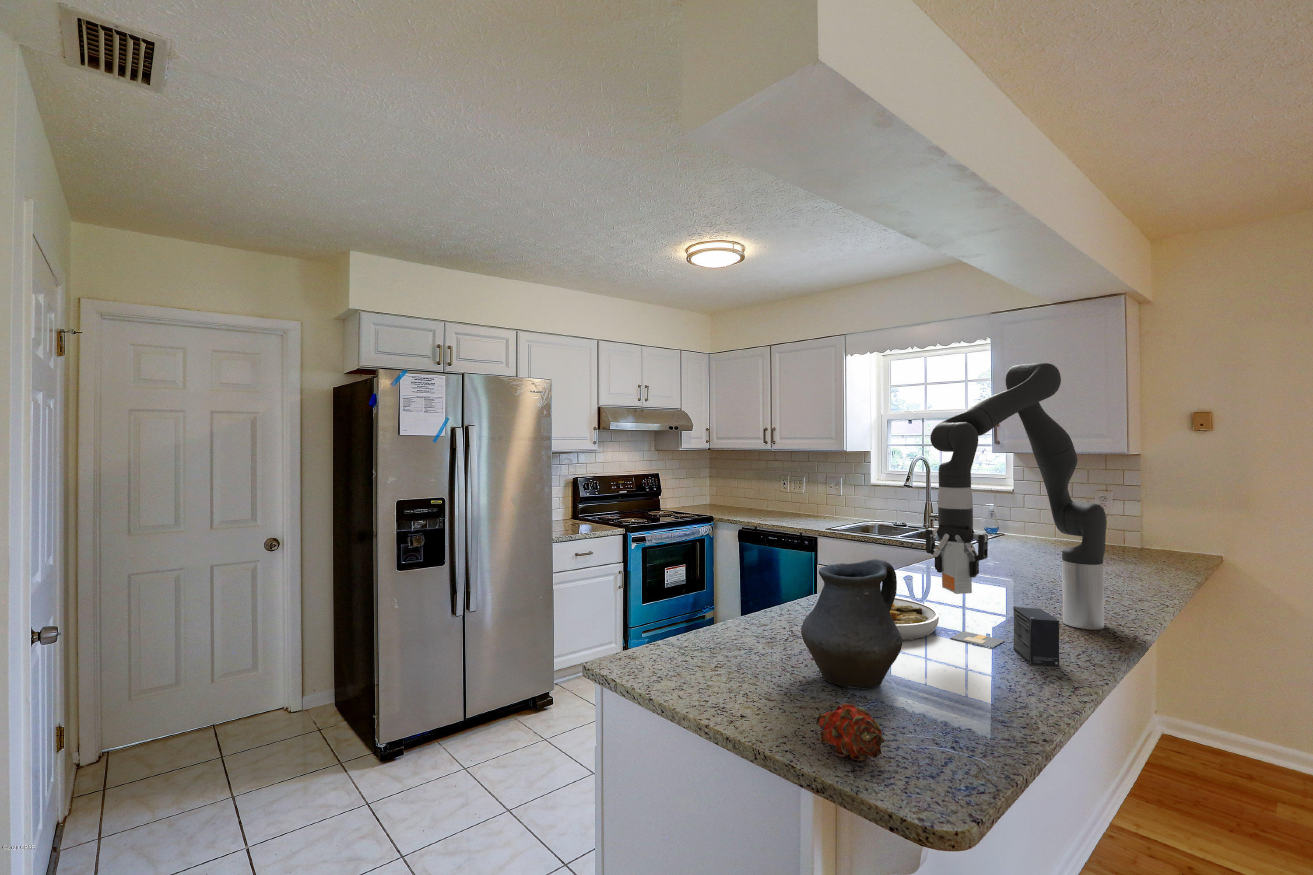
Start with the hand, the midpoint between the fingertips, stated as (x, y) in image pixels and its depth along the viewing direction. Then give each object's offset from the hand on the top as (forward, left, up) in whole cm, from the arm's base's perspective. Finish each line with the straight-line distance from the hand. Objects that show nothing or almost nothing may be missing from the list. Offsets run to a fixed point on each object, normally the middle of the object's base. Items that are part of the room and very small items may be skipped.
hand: (956, 574), depth 147 cm
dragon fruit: (+62, +9, -19) cm, 65 cm away
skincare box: (0, 0, -4) cm, 4 cm away
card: (-12, 0, -18) cm, 22 cm away
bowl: (-5, -23, -19) cm, 30 cm away
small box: (-9, +14, -19) cm, 25 cm away
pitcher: (+34, -7, -19) cm, 39 cm away
